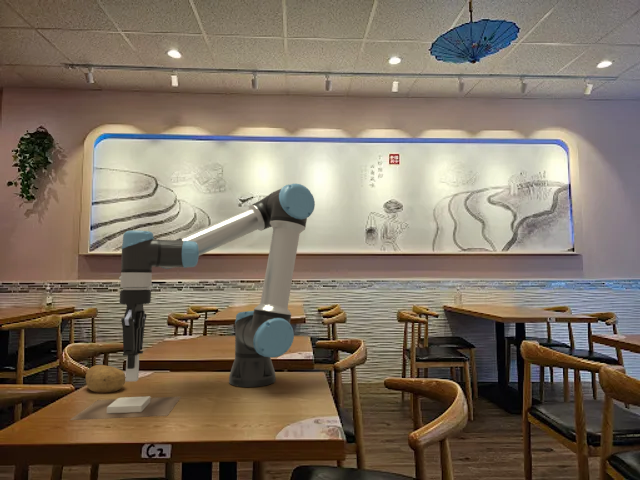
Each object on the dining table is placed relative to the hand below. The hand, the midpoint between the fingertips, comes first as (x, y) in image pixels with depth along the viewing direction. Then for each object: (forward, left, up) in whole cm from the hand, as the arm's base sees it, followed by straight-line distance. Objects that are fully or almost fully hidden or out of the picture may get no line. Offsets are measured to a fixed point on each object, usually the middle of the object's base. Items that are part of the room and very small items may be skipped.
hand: (131, 380), depth 105 cm
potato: (+13, -18, -8) cm, 24 cm away
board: (0, +1, -8) cm, 8 cm away
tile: (0, -3, -6) cm, 6 cm away
